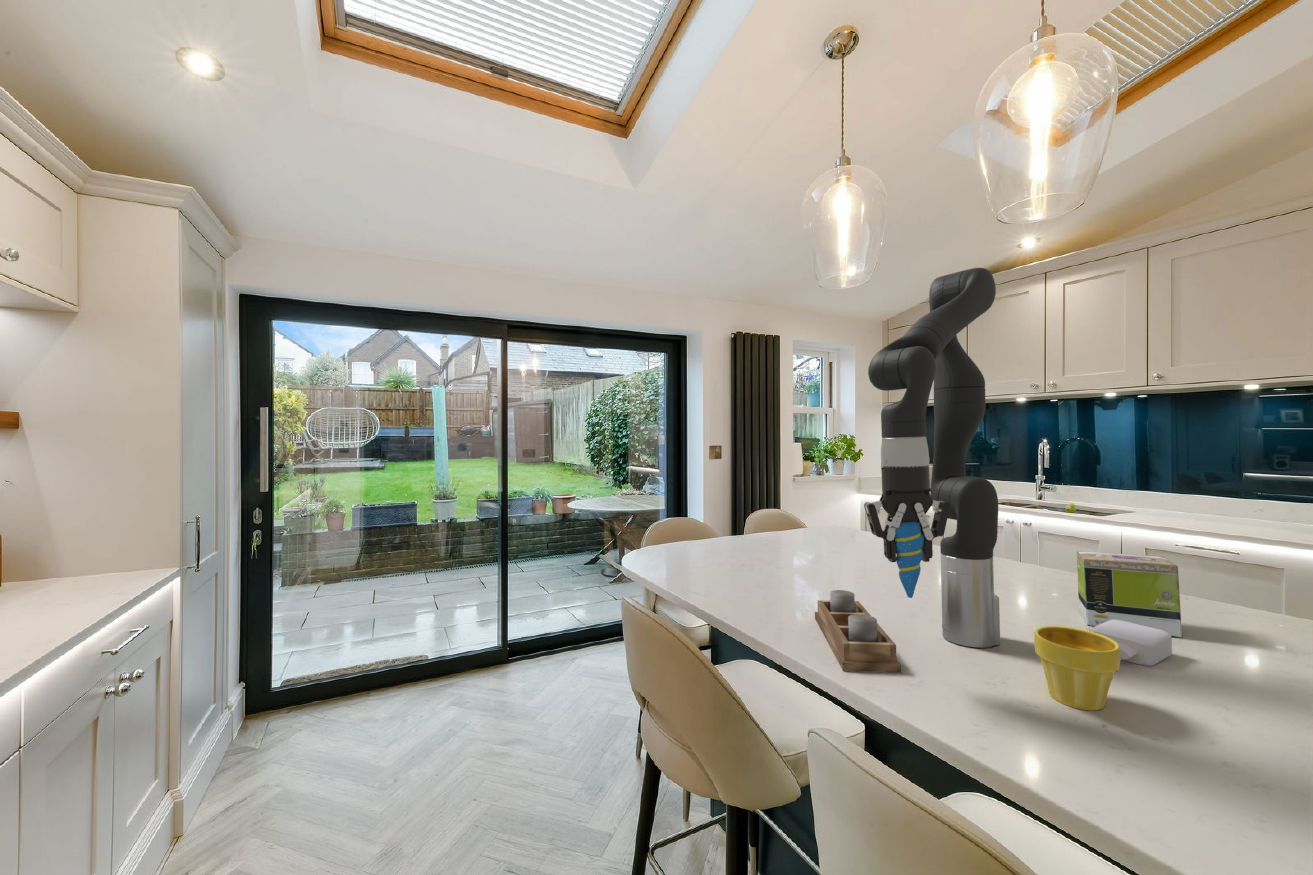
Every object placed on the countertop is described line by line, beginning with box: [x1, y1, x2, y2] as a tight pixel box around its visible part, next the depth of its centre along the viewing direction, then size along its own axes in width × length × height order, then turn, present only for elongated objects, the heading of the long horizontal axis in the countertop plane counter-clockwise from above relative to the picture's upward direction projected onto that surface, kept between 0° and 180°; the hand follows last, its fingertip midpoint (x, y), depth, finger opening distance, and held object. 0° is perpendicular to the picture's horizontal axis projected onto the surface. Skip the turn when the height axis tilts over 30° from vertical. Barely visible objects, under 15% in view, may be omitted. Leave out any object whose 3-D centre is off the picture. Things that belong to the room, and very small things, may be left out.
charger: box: [1088, 619, 1173, 667], centre depth 95 cm, size 5×9×15 cm
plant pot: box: [1033, 625, 1121, 711], centre depth 80 cm, size 10×10×10 cm
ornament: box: [893, 521, 924, 599], centre depth 89 cm, size 5×5×15 cm
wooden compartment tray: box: [814, 589, 903, 674], centre depth 104 cm, size 10×27×8 cm, turn 173°
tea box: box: [1076, 550, 1183, 638], centre depth 110 cm, size 15×10×15 cm, turn 58°
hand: (908, 560), depth 89 cm, fingers closed on ornament, 5 cm apart
